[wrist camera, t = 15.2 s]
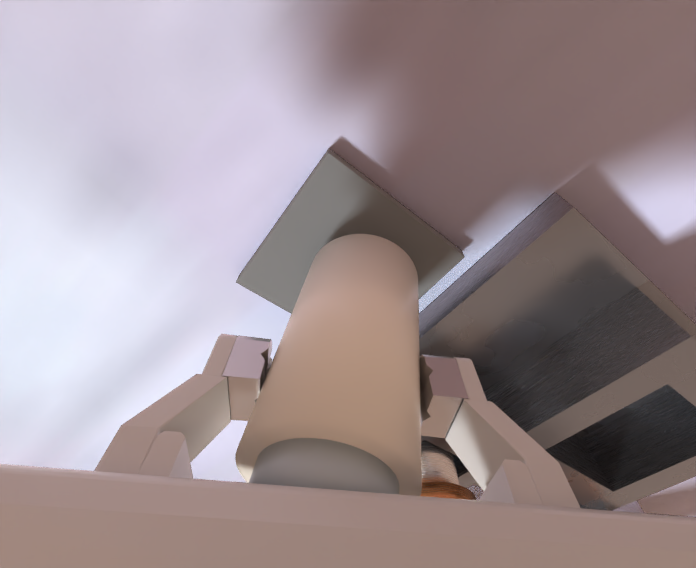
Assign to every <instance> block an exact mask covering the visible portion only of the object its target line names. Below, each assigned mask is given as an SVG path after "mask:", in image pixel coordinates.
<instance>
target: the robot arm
mask: <svg viewBox="0 0 696 568" xmlns="http://www.w3.org/2000/svg"><path fill="white" fill-rule="evenodd" d="M271 351H272V340H271V339H263V338H255V337H247V336H235V335H228V334H221V335H220V336H219V337H218V339H217V341H216V344H215V346H214V348H213V350H212V352H211V355H210V357H209V359H208V361H207V364H206V366H205V368H204V370H203V373H202V374H196V375H194V376H193V377H191V378H190V379H189V380H187V381H186V382H184V383H183V384H181V385H180V386H178V387H177V388H175V389H174V390H172V391H171V392H169V393H168V394H167V395H165V396H164V397H162V398H161V399H159V400H158V401H156V402H155V403H153V404H152V405H150V406H149V407H148V408H146V409H145V410H143V411H142V412H140V413H139V414H137V415H136V416H134V417H133V418H131V419H130V420H128V421H127V422H126V423H124V424H123V425H121V427H120V428H119V430H118V432H117V433H116V435H115V437H114V438H113V440H112V442H111V443H110V445H109V447H108V448H107V450H106V452H105V453H104V455H103V457H102V458H101V460H100V462H99V463H98V465H97V467H96V468H95V470H94V471H87V470H74V469H61V468H48V467H35V466H22V465H9V464H0V568H696V517H688V516H675V515H662V514H648V513H635V512H622V511H609V510H596V509H583V508H580V505H579V503H578V501H577V499H576V497H575V495H574V493H573V491H572V489H571V487H570V485H569V482H568V480H567V478H566V476H565V474H564V472H563V470H562V468H561V466H560V464H559V462H558V461H557V460H555V459H554V458H553V457H552V456H551V455H550V454H549V453H548V452H547V451H546V450H544V449H543V448H542V447H541V446H540V445H539V444H538V443H537V442H536V441H535V440H533V439H532V438H531V437H530V436H529V435H528V434H527V433H526V432H525V431H524V430H523V429H521V428H520V427H519V426H518V425H517V424H516V423H515V422H514V421H513V420H512V419H510V418H509V417H508V416H507V415H506V414H505V413H504V412H503V411H502V410H501V409H499V408H498V407H497V406H496V405H495V404H494V403H493V402H491V401H487V399H486V397H485V394H484V391H483V389H482V386H481V383H480V381H479V378H478V375H477V373H476V370H475V367H474V365H473V362H472V360H471V359H469V358H457V357H454V358H453V357H445V356H434V355H423V354H422V355H421V356H420V410H421V436H430V437H439V438H446V439H445V440H446V441H447V442H448V444H449V445H450V447H451V448H452V449H453V451H454V452H455V453H456V455H457V456H458V457H459V459H460V460H461V461H462V463H463V464H464V465H465V467H466V468H467V469H468V471H469V472H470V473H471V475H472V476H473V478H474V479H475V480H476V482H477V483H478V484H479V486H480V487H481V488H482V490H483V491H484V492H483V494H482V495H481V497H480V498H479V500H466V499H453V498H439V497H426V496H413V495H400V494H386V493H373V492H360V491H347V490H334V489H321V488H308V487H295V486H282V485H269V484H256V483H243V482H230V481H217V480H204V479H193V474H192V469H191V464H190V462H191V461H192V460H193V459H194V458H195V457H196V456H197V455H198V454H199V453H200V452H201V451H202V450H203V449H204V448H205V447H206V446H207V445H208V444H209V443H210V442H211V441H212V440H213V439H214V438H215V437H216V436H217V435H218V434H219V433H220V432H221V431H222V430H223V429H224V428H225V427H226V426H227V425H228V424H229V423H230V422H231V420H244V421H249V418H250V416H251V414H252V411H253V409H254V406H255V404H256V401H257V399H258V396H259V394H260V391H261V389H262V386H263V384H264V381H265V379H266V376H267V374H268V371H269V369H270V366H271V364H272V359H271V358H270V355H271Z"/></svg>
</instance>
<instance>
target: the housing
mask: <svg viewBox="0 0 696 568" xmlns="http://www.w3.org/2000/svg"><path fill="white" fill-rule="evenodd" d="M419 354H420V356H421V355H422V354H423V355H434V356H445V357H453V358H454V357H457V358H469V359H471V360H472V362H473V365H474V367H475V370H476V373H477V375H478V378H479V381H480V383H481V386H482V389H483V391H484V394H485V397H486V399H487V401H491V402H493V403H494V404H495V405H496V406H497V407H498V408H499V409H501V410H502V411H503V412H504V413H505V414H506V415H507V416H508V417H509V418H510V419H512V420H513V421H514V422H515V423H516V424H517V425H518V426H519V427H520V428H521V429H523V430H524V431H525V432H526V433H527V434H528V435H529V436H530V437H531V438H532V439H533V440H535V441H536V442H537V443H538V444H539V445H540V446H541V447H542V448H543V449H544V450H546V451H547V452H548V453H549V454H550V455H551V456H552V457H553V458H554V459H555V460H557V461H558V462H559V464H560V466H561V468H562V470H563V472H564V474H565V476H566V478H567V480H568V482H569V485H570V487H571V489H572V491H573V493H574V495H575V497H576V499H577V501H578V503H579V505H580V508H583V509H596V510H609V511H622V512H635V513H644V512H643V510H642V508H641V507H640V505H639V503H638V502H637V500H639V499H642V498H644V497H646V496H649V495H651V494H654V493H656V492H659V491H661V490H664V489H666V488H668V487H671V486H673V485H676V484H678V483H681V482H683V481H685V480H688V479H690V478H693V477H695V476H696V324H695V323H694V322H693V321H692V320H690V319H689V318H688V317H687V316H686V315H685V314H684V313H683V312H682V311H681V310H680V309H679V308H678V307H677V306H676V305H675V304H674V303H673V302H672V301H671V300H670V299H669V298H668V297H667V296H666V295H665V294H663V293H662V292H661V291H660V290H659V289H658V288H657V287H656V286H655V285H654V284H653V283H652V282H651V281H650V280H649V279H648V278H647V277H646V276H645V275H644V274H643V273H642V272H641V271H640V270H639V269H637V268H636V267H635V266H634V265H633V264H632V263H631V262H630V261H629V260H628V259H627V258H626V257H625V256H624V255H623V254H622V253H621V252H620V251H619V250H618V249H617V248H616V247H615V246H614V245H613V244H612V243H610V242H609V241H608V240H607V239H606V238H605V237H604V236H603V235H602V234H601V233H600V232H599V231H598V230H597V229H596V228H595V227H594V226H593V225H592V224H591V223H590V222H589V221H588V220H587V219H586V218H584V217H583V216H582V215H581V214H580V213H579V212H578V211H577V210H576V209H575V208H574V207H573V206H572V205H570V204H569V203H568V202H567V201H565V200H564V199H563V198H562V197H560V196H559V195H558V194H556V193H554V194H553V195H551V196H550V197H549V198H548V199H547V200H546V201H545V202H544V203H542V204H541V205H540V206H539V207H538V208H537V209H536V210H535V211H534V212H532V213H531V214H530V215H529V216H528V217H527V218H526V219H525V220H524V221H522V222H521V223H520V224H519V225H518V226H517V227H516V228H515V229H513V230H512V231H511V232H510V233H509V234H508V235H507V236H506V237H505V238H503V239H502V240H501V241H500V242H499V243H498V244H497V245H496V246H495V247H493V248H492V249H491V250H490V251H489V252H488V253H487V254H486V255H485V256H483V257H482V258H481V259H480V260H479V261H478V262H477V263H476V264H474V265H473V266H472V267H471V268H470V269H469V270H468V271H467V272H466V273H464V274H463V275H462V276H461V277H460V278H459V279H458V280H457V281H456V282H454V283H453V284H452V285H451V286H450V287H449V288H448V289H447V290H445V291H444V292H443V293H442V294H441V295H440V296H439V297H438V298H437V299H435V300H434V301H433V302H432V303H431V304H430V305H429V306H428V307H427V308H425V309H424V310H423V311H422V312H421V313H420V314H419ZM445 439H446V438H439V437H430V436H421V442H422V441H424V440H426V441H428V442H430V443H432V444H434V445H436V446H438V447H440V448H442V449H444V450H446V451H448V452H450V453H452V454H453V458H454V462H455V467H456V471H457V475H458V479H459V484H460V485H461V486H463V487H465V488H468V487H470V486H472V485H476V486H478V487H480V486H479V484H478V483H477V482H476V480H475V479H474V478H473V476H472V475H471V473H470V472H469V471H468V469H467V468H466V467H465V465H464V464H463V463H462V461H461V460H460V459H459V457H458V456H457V455H456V453H455V452H454V451H453V449H452V448H451V447H450V445H449V444H448V442H447V441H446V440H445ZM480 488H481V487H480Z"/></svg>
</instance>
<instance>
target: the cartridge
mask: <svg viewBox="0 0 696 568" xmlns="http://www.w3.org/2000/svg"><path fill="white" fill-rule="evenodd" d="M236 465H237V468H238V470H239V472H240V474H241V475H242V477H243V478H244V479H245V480H246V482H247V483H256V484H269V485H282V486H295V487H308V488H321V489H334V490H347V491H360V492H373V493H386V494H400V495H413V496H420V495H421V491H422V467H421V410H420V354H419V298H418V274H417V271H416V268H415V265H414V263H413V261H412V260H411V258H410V257H409V256H408V254H407V253H406V252H405V251H404V250H403V249H402V248H400V247H399V246H398V245H396V244H395V243H393V242H391V241H389V240H387V239H385V238H382V237H379V236H375V235H370V234H350V235H345V236H342V237H339V238H336V239H334V240H332V241H330V242H329V243H327V244H326V245H325V246H324V247H322V248H321V249H320V250H319V252H318V253H317V254H316V256H315V258H314V260H313V262H312V265H311V267H310V269H309V272H308V274H307V277H306V279H305V282H304V284H303V287H302V289H301V292H300V294H299V297H298V299H297V302H296V304H295V307H294V309H293V312H292V314H291V317H290V319H289V322H288V324H287V327H286V329H285V332H284V334H283V337H282V339H281V342H280V344H279V346H278V349H277V351H276V354H275V356H274V359H273V361H272V364H271V366H270V369H269V371H268V374H267V376H266V379H265V381H264V384H263V386H262V389H261V391H260V394H259V396H258V399H257V401H256V404H255V406H254V409H253V411H252V414H251V416H250V418H249V421H248V423H247V426H246V428H245V431H244V433H243V436H242V438H241V441H240V443H239V446H238V448H237V452H236Z"/></svg>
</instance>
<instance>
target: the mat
mask: <svg viewBox="0 0 696 568" xmlns="http://www.w3.org/2000/svg"><path fill="white" fill-rule="evenodd" d="M350 234H370V235H375V236H379V237H382V238H385V239H387V240H389V241H391V242H393V243H395V244H396V245H398V246H399V247H400V248H402V249H403V250H404V251H405V252H406V253H407V254H408V256H409V257H410V258H411V260H412V261H413V263H414V265H415V268H416V271H417V274H418V298H419V299H420V298H421V297H422V296H423V295H424V294H425V293H426V292H427V291H428V290H429V289H431V288H432V287H433V286H434V285H435V284H436V283H437V282H438V281H439V280H440V279H441V278H442V277H443V276H445V275H446V274H447V273H448V272H449V271H450V270H451V269H452V268H453V267H454V266H455V265H456V264H458V263H459V262H460V261H461V260H462V259H463V258H464V255H463V253H462V251H461V249H459V248H458V247H457V246H455V245H454V244H453V243H451V242H450V241H449V240H448V239H446V238H445V237H444V236H442V235H441V234H440V233H438V232H437V231H436V230H435V229H433V228H432V227H431V226H429V225H428V224H427V223H425V222H424V221H423V220H422V219H420V218H419V217H418V216H416V215H415V214H414V213H412V212H411V211H410V210H409V209H407V208H406V207H405V206H403V205H402V204H401V203H400V202H398V201H397V200H396V199H394V198H393V197H392V196H390V195H389V194H388V193H387V192H385V191H384V190H383V189H381V188H380V187H379V186H377V185H376V184H375V183H374V182H372V181H371V180H370V179H368V178H367V177H366V176H364V175H363V174H362V173H361V172H359V171H358V170H357V169H355V168H354V167H353V166H351V165H350V164H349V163H348V162H346V161H345V160H344V159H342V158H341V157H340V156H338V155H337V154H336V153H335V152H333V151H332V150H331V149H328V150H327V152H326V153H325V154H324V156H323V157H322V159H321V160H320V161H319V163H318V164H317V166H316V167H315V169H314V170H313V171H312V173H311V174H310V176H309V177H308V178H307V180H306V181H305V183H304V184H303V186H302V187H301V188H300V190H299V191H298V193H297V194H296V195H295V197H294V198H293V200H292V201H291V203H290V204H289V205H288V207H287V208H286V210H285V211H284V212H283V214H282V215H281V217H280V218H279V219H278V221H277V222H276V224H275V225H274V227H273V228H272V229H271V231H270V232H269V234H268V235H267V236H266V238H265V239H264V241H263V242H262V244H261V245H260V246H259V248H258V249H257V251H256V252H255V253H254V255H253V256H252V258H251V259H250V261H249V262H248V263H247V265H246V266H245V268H244V269H243V270H242V272H241V273H240V275H239V277H238V279H237V281H236V283H238V284H240V285H242V286H243V287H245V288H247V289H249V290H250V291H252V292H254V293H256V294H258V295H259V296H261V297H263V298H265V299H266V300H268V301H270V302H272V303H273V304H275V305H277V306H279V307H280V308H282V309H284V310H286V311H288V312H289V313H291V314H292V312H293V309H294V307H295V304H296V302H297V299H298V297H299V294H300V292H301V289H302V287H303V284H304V282H305V279H306V277H307V274H308V272H309V269H310V267H311V265H312V262H313V260H314V258H315V256H316V254H317V253H318V252H319V250H320V249H321V248H322V247H324V246H325V245H326V244H327V243H329V242H330V241H332V240H334V239H336V238H339V237H342V236H345V235H350Z"/></svg>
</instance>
